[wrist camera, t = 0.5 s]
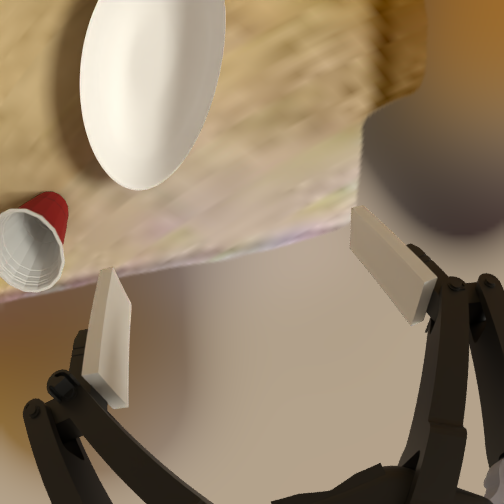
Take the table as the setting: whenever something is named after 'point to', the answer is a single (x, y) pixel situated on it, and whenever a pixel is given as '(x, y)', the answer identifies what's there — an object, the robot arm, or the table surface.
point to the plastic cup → (33, 243)
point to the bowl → (149, 83)
